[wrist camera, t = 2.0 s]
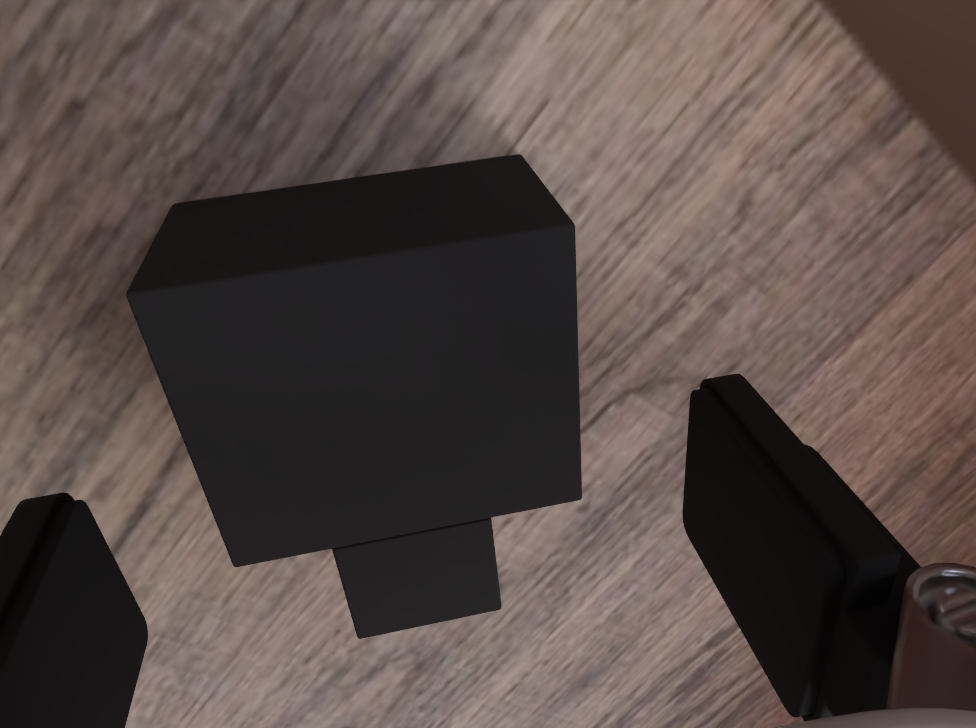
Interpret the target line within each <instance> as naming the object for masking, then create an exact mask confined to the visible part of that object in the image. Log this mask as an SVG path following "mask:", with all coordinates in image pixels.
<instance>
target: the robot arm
mask: <svg viewBox="0 0 976 728" xmlns="http://www.w3.org/2000/svg"><path fill="white" fill-rule="evenodd" d="M683 523H684V527H685V530H686V533H687V535H688V537H689V539H690V541H691V543H692V545H693V546H694V548H695V550H696V552H697V553H698V555H699V557H700V559H701V560H702V562H703V564H704V566H705V568H706V569H707V571H708V573H709V575H710V576H711V578H712V580H713V582H714V583H715V585H716V587H717V589H718V590H719V592H720V594H721V596H722V598H723V599H724V601H725V603H726V605H727V606H728V608H729V610H730V612H731V613H732V615H733V617H734V619H735V620H736V622H737V624H738V626H739V628H740V629H741V631H742V633H743V635H744V636H745V638H746V640H747V642H748V643H749V645H750V647H751V649H752V650H753V652H754V654H755V656H756V658H757V659H758V661H759V663H760V665H761V666H762V668H763V670H764V672H765V673H766V675H767V677H768V679H769V681H770V682H771V684H772V686H773V688H774V689H775V691H776V693H777V695H778V696H779V698H780V700H781V702H782V703H783V705H784V707H785V708H786V710H787V711H788V713H789V714H790V715H791V716H793V717H800V716H802V718H803V720H804V721H805V722H800V723H795V724H790V725H785V726H780V727H776V728H976V568H975V567H972V566H967V565H961V564H956V563H934V564H930V565H927V566H924V567H920V565H919V564H918V563H917V562H916V561H915V560H914V559H913V558H912V557H911V555H910V554H909V553H908V552H907V551H906V550H905V549H904V548H903V547H902V545H901V544H900V543H899V542H898V541H897V540H896V539H895V538H894V537H893V535H892V534H891V533H890V532H889V531H888V530H887V529H886V528H885V527H884V525H883V524H882V523H881V522H880V521H879V520H878V519H877V518H876V517H875V515H874V514H873V513H872V512H871V511H870V510H869V509H868V508H867V507H866V505H865V504H864V503H863V502H862V501H861V500H860V499H859V498H858V497H857V495H856V494H855V493H854V492H853V491H852V490H851V489H850V488H849V487H848V485H847V484H846V483H845V482H844V481H843V480H842V479H841V478H840V477H839V475H838V474H837V473H836V472H835V471H834V470H833V469H832V468H831V467H830V465H829V464H828V463H827V462H826V461H825V460H824V459H823V458H822V457H821V455H820V454H819V453H818V452H817V451H815V450H814V449H813V448H812V447H811V446H807V445H804V444H803V443H802V442H801V441H800V440H799V439H798V437H797V436H796V435H795V434H794V433H793V432H792V431H791V430H790V428H789V427H788V426H787V425H786V424H785V423H784V422H783V421H782V419H781V418H780V417H779V416H778V415H777V414H776V413H775V412H774V410H773V409H772V408H771V407H770V406H769V405H768V404H767V403H766V401H765V400H764V399H763V398H762V397H761V396H760V395H759V394H758V392H757V391H756V390H755V389H754V388H753V387H752V386H751V385H750V383H749V382H748V381H747V380H746V379H745V378H744V377H743V376H742V375H741V374H732V375H726V376H721V377H715V378H709V379H705V380H703V381H702V383H701V385H700V389H699V390H694V391H692V393H691V396H690V408H689V423H688V438H687V453H686V469H685V484H684V499H683ZM147 640H148V630H147V624H146V620H145V618H144V616H143V614H142V612H141V610H140V608H139V606H138V604H137V602H136V600H135V598H134V596H133V594H132V592H131V590H130V588H129V586H128V584H127V582H126V580H125V578H124V576H123V574H122V572H121V570H120V568H119V566H118V564H117V562H116V560H115V558H114V556H113V555H112V553H111V551H110V549H109V547H108V545H107V543H106V541H105V539H104V537H103V535H102V533H101V531H100V529H99V527H98V525H97V523H96V521H95V519H94V517H93V515H92V513H91V511H90V509H89V507H88V505H87V504H86V503H85V502H84V501H83V500H74V499H73V498H72V496H70V495H69V494H68V493H58V494H53V495H47V496H41V497H36V498H30V499H25V500H23V501H21V502H20V503H19V504H18V505H17V507H16V509H15V510H14V512H13V514H12V516H11V518H10V519H9V521H8V523H7V525H6V527H5V528H4V530H3V532H2V534H1V536H0V728H125V725H126V721H127V717H128V713H129V710H130V706H131V702H132V698H133V695H134V691H135V687H136V683H137V680H138V676H139V672H140V668H141V664H142V661H143V657H144V653H145V649H146V646H147Z"/></svg>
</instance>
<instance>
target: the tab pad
mask: <svg viewBox="0 0 976 728" xmlns="http://www.w3.org/2000/svg"><path fill="white" fill-rule="evenodd" d="M126 297H127V299H128V302H129V304H130V307H131V309H132V312H133V314H134V317H135V319H136V322H137V324H138V327H139V330H140V332H141V335H142V337H143V340H144V342H145V345H146V347H147V350H148V352H149V355H150V357H151V360H152V362H153V365H154V367H155V370H156V372H157V375H158V377H159V380H160V382H161V385H162V387H163V390H164V392H165V395H166V397H167V400H168V402H169V405H170V407H171V410H172V413H173V415H174V418H175V420H176V423H177V425H178V428H179V430H180V433H181V435H182V438H183V440H184V443H185V445H186V448H187V450H188V453H189V455H190V458H191V460H192V463H193V465H194V468H195V470H196V473H197V475H198V478H199V480H200V483H201V485H202V488H203V491H204V493H205V496H206V498H207V501H208V503H209V506H210V508H211V511H212V513H213V516H214V518H215V521H216V523H217V526H218V528H219V531H220V533H221V536H222V538H223V541H224V543H225V546H226V548H227V551H228V553H229V556H230V558H231V561H232V563H233V566H234V567H240V566H245V565H250V564H255V563H260V562H265V561H270V560H276V559H281V558H286V557H291V556H296V555H301V554H306V553H311V552H316V551H321V550H327V549H332V550H333V554H334V557H335V561H336V564H337V568H338V571H339V575H340V578H341V581H342V585H343V588H344V592H345V595H346V599H347V602H348V606H349V609H350V613H351V616H352V620H353V623H354V627H355V630H356V634H357V637H358V638H359V639H361V638H366V637H371V636H376V635H381V634H385V633H390V632H395V631H400V630H404V629H409V628H414V627H419V626H424V625H428V624H433V623H438V622H443V621H447V620H452V619H457V618H462V617H467V616H471V615H476V614H481V613H486V612H490V611H495V610H499V609H501V598H500V589H499V581H498V573H497V564H496V556H495V547H494V539H493V530H492V522H491V517H495V516H500V515H505V514H510V513H516V512H521V511H526V510H531V509H536V508H541V507H546V506H551V505H556V504H562V503H567V502H572V501H577V500H580V499H581V498H582V481H581V442H580V404H579V365H578V326H577V288H576V249H575V225H574V223H573V222H572V220H571V219H570V218H569V217H568V215H567V214H566V213H565V211H564V210H563V209H562V207H561V206H560V205H559V204H558V202H557V201H556V200H555V198H554V197H553V196H552V194H551V193H550V192H549V191H548V189H547V188H546V187H545V185H544V184H543V183H542V181H541V180H540V179H539V177H538V176H537V175H536V174H535V172H534V171H533V170H532V168H531V167H530V166H529V164H528V163H527V162H526V161H525V159H524V158H523V157H522V155H512V156H505V157H498V158H491V159H485V160H478V161H471V162H464V163H457V164H450V165H443V166H436V167H429V168H422V169H415V170H408V171H401V172H394V173H387V174H380V175H373V176H366V177H360V178H353V179H346V180H339V181H332V182H325V183H318V184H311V185H304V186H297V187H290V188H283V189H276V190H269V191H262V192H255V193H248V194H241V195H234V196H228V197H221V198H214V199H207V200H200V201H193V202H186V203H179V204H174V205H172V207H171V209H170V211H169V213H168V214H167V216H166V218H165V220H164V222H163V224H162V226H161V228H160V230H159V232H158V233H157V235H156V237H155V239H154V241H153V243H152V245H151V247H150V249H149V250H148V252H147V254H146V256H145V258H144V260H143V262H142V264H141V266H140V268H139V269H138V271H137V273H136V275H135V277H134V279H133V281H132V283H131V285H130V287H129V288H128V290H127V292H126Z"/></svg>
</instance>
